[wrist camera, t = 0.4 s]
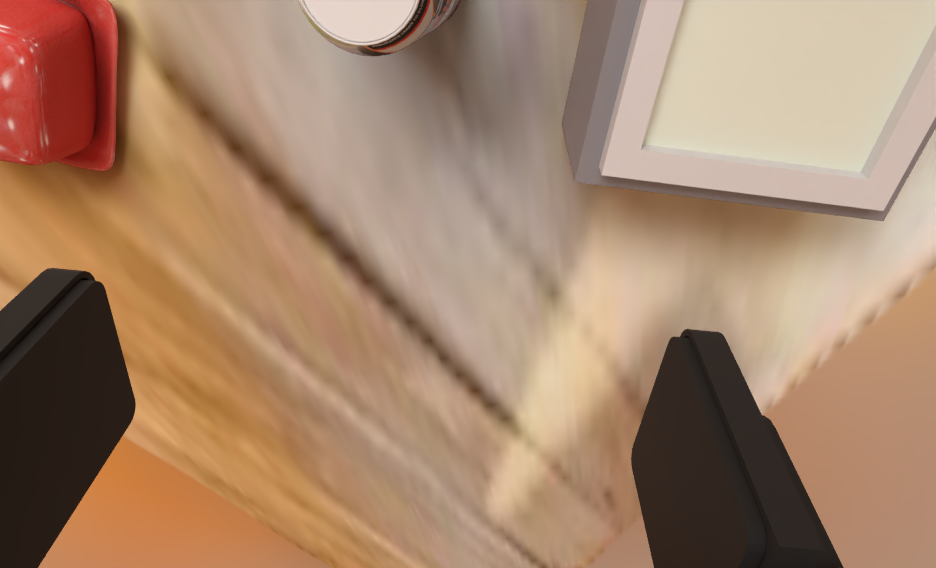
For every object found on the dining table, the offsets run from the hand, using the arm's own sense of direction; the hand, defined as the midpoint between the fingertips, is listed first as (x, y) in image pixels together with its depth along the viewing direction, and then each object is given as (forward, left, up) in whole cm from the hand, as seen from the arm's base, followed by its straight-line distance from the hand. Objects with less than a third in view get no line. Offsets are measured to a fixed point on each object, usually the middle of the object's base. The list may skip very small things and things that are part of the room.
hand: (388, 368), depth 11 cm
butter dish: (+6, -25, -30) cm, 40 cm away
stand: (-2, +15, -30) cm, 33 cm away
